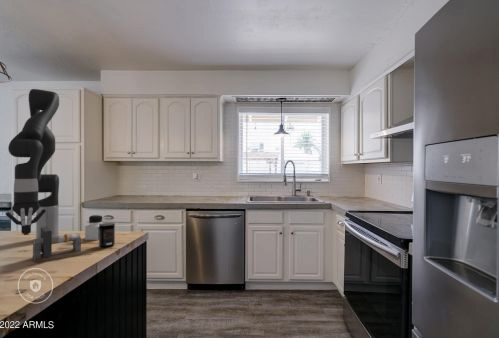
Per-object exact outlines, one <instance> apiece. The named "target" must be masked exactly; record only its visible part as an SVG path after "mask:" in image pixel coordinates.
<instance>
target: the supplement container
mask: <svg viewBox="0 0 499 338" xmlns="http://www.w3.org/2000/svg"><path fill="white" fill-rule="evenodd" d="M115 233H116V223H114V222H104V223H103V222H102V224H99V240H98V247H100V248H103V249H107V248H111V247H114V246H115V244H116V241H115V237H116V234H115Z"/></svg>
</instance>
